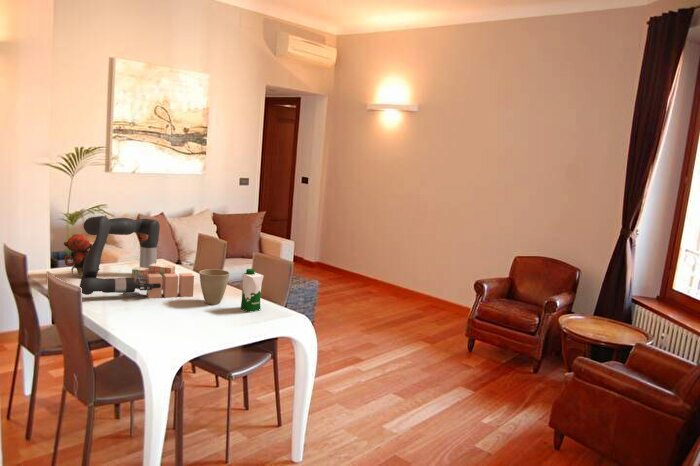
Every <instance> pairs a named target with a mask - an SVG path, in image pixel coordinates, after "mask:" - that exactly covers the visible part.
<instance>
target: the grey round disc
mask: <svg viewBox="0 0 700 466" xmlns="http://www.w3.org/2000/svg"><path fill="white" fill-rule="evenodd" d="M140 294H141V293H140V292H139V291H136V290H135V291H134V292H128V293H122V295H123V296H125V297H136V296H139V295H140Z"/></svg>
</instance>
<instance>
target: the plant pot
mask: <svg viewBox="0 0 700 466" xmlns="http://www.w3.org/2000/svg"><path fill="white" fill-rule="evenodd" d="M198 275H199V281H200V287H201V292H202V296H203V298H204V299H203V300H204V302H205V304H207V305H213V306H214V305H219V304H221V302H222V300H223V297H224V295H225V293H226V289H227V286H228V282H229V278H230V272H229V271H227V270H224V269H216V268H215V269H214V268H208V269H203V270H199V273H198Z"/></svg>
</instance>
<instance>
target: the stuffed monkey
mask: <svg viewBox="0 0 700 466" xmlns="http://www.w3.org/2000/svg"><path fill="white" fill-rule="evenodd" d="M63 245H64V246H65V247H67V248H68V250H69V251H71V252H73V256H72V255H71V254H70V255H69V254H68V255H66V256H65V257H64V264H65V266H68V267H71V274H72V277H73V276H74V269H76V271H77V274H78V276H82V274H83V265H84V260H85V256H86V254H87V253H88V251H89V249H90V248H91V247H92V245H93V243H91V241H90V239H88V237H87V236H85V235H83V234H81V233H80V234H79V233H75V234H73V235H72V236H70V237H69V238H68V239H67V241H64V242H63ZM68 258H70V260H71V261H72V262H69V260H68ZM100 270H101V268H99V270H98V272H99V271H100ZM74 277H75V276H74Z"/></svg>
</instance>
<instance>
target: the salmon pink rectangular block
mask: <svg viewBox="0 0 700 466" xmlns="http://www.w3.org/2000/svg"><path fill="white" fill-rule="evenodd" d="M147 282H148V283H149V284H150V283H152V284H156V283H160V284H161V287H160V288H153V289H152V290H146V296H147V298H148V299H161V298H162V296H163V289H162V276H161V274H147ZM148 287H150V286H148Z"/></svg>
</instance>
